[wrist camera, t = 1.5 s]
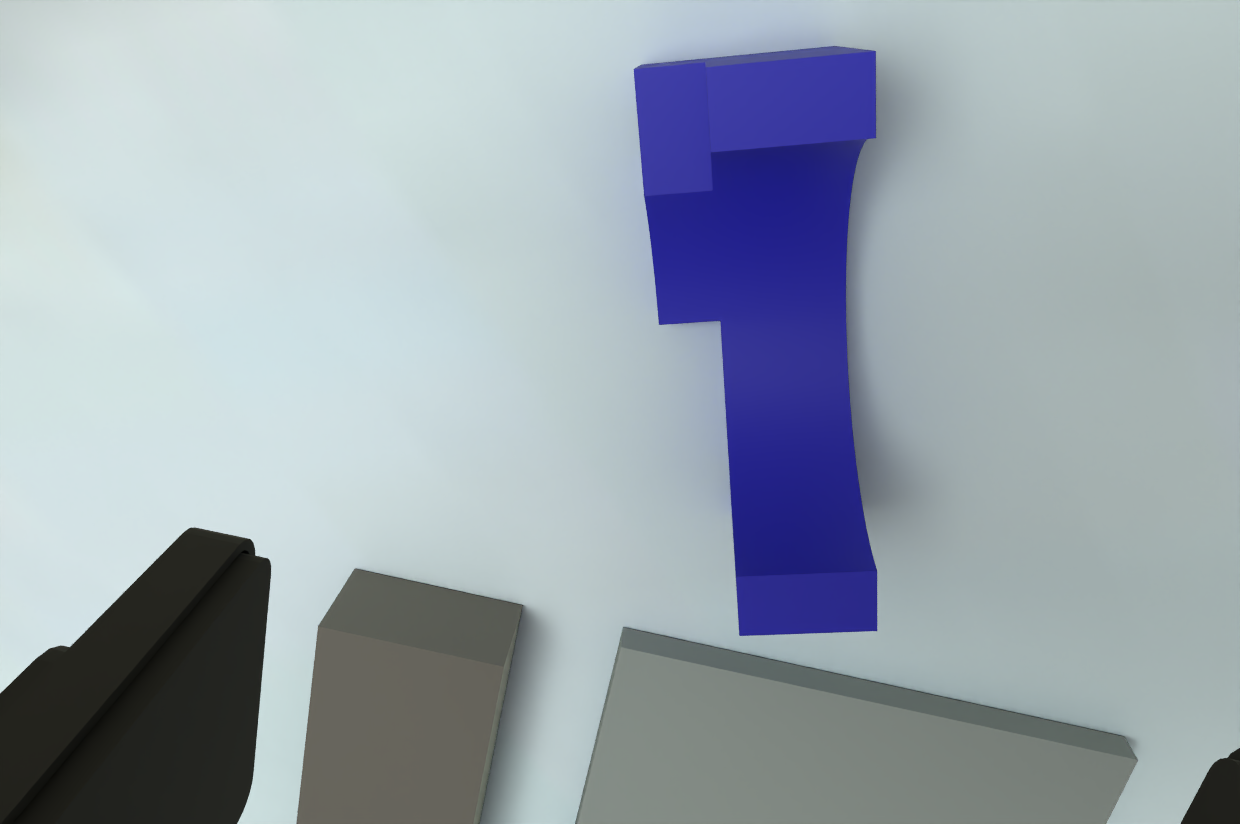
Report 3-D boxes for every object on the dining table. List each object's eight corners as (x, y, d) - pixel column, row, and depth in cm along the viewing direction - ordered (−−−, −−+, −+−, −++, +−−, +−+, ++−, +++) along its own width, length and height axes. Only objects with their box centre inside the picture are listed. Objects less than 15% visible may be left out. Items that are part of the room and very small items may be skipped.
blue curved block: (641, 64, 24) (622, 74, 18) (834, 46, 23) (875, 51, 18) (677, 516, 28) (672, 638, 22) (841, 508, 27) (877, 631, 22)
